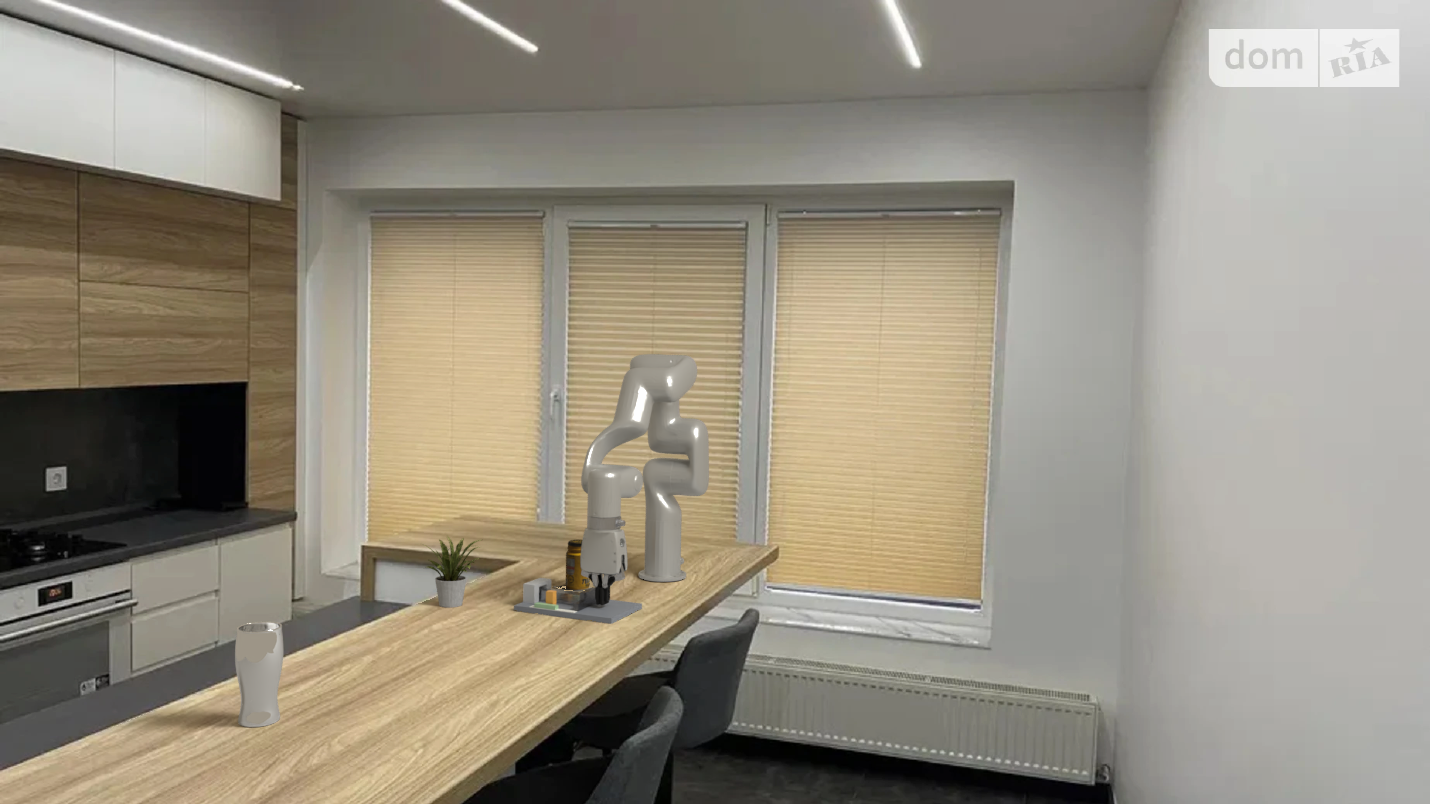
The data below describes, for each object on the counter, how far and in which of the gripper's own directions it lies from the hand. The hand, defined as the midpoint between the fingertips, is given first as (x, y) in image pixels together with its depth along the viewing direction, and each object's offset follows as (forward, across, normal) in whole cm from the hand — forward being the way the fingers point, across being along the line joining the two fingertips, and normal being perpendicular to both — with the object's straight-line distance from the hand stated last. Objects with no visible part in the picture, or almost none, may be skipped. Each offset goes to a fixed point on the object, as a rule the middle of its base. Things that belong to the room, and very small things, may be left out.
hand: (602, 603), depth 234 cm
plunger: (+1, +11, +1) cm, 11 cm away
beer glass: (+2, +15, +84) cm, 85 cm away
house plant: (+2, +33, +9) cm, 35 cm away
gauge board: (+2, +6, 0) cm, 7 cm away
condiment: (+2, +18, -18) cm, 25 cm away
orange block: (+1, +11, +5) cm, 12 cm away
